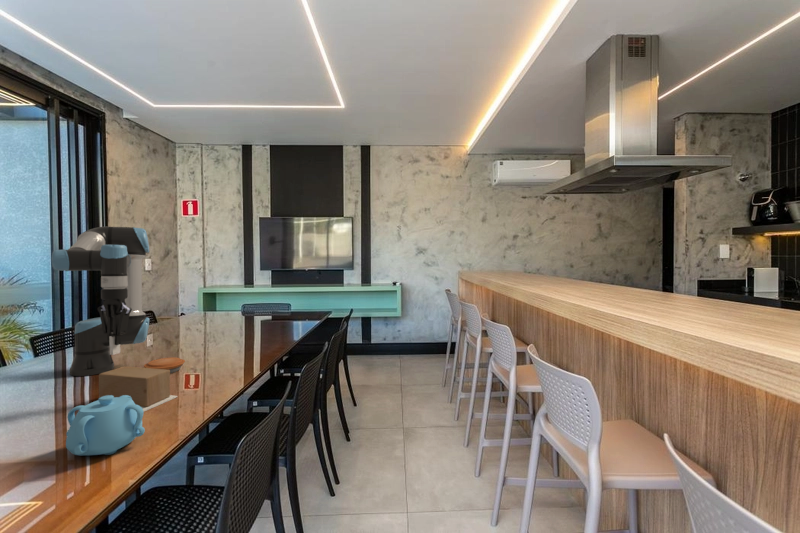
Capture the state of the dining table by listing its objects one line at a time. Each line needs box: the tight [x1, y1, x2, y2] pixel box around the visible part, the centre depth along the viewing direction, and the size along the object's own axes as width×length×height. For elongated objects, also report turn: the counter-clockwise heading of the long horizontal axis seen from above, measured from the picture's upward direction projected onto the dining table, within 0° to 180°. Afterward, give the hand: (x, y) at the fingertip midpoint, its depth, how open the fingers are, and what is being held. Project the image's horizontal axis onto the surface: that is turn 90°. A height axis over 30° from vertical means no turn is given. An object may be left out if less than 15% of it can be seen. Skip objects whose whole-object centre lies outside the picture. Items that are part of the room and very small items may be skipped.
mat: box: [140, 394, 178, 412], centre depth 130 cm, size 15×19×1 cm
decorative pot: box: [65, 395, 146, 456], centre depth 100 cm, size 16×16×14 cm
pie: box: [143, 356, 186, 374], centre depth 165 cm, size 16×16×5 cm
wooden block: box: [98, 365, 171, 407], centre depth 131 cm, size 10×10×20 cm
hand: (115, 353), depth 132 cm, fingers closed
